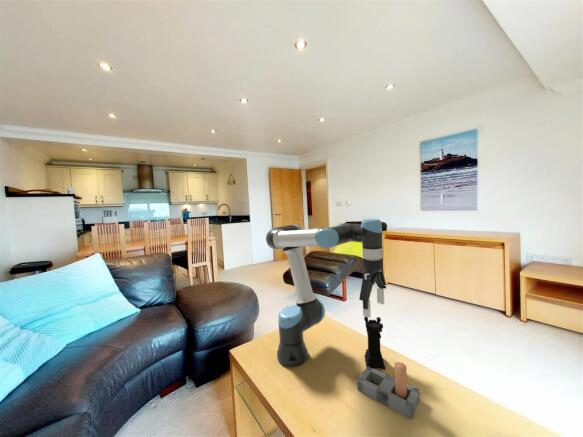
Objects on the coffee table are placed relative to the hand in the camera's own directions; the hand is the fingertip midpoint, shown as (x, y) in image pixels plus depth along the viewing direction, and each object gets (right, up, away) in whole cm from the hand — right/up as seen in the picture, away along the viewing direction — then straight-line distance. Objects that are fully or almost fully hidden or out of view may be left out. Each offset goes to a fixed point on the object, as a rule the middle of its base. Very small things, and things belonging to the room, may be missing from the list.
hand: (374, 309), depth 95 cm
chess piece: (+5, -30, +13) cm, 33 cm away
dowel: (+7, -31, -8) cm, 33 cm away
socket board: (+4, -31, -5) cm, 32 cm away
